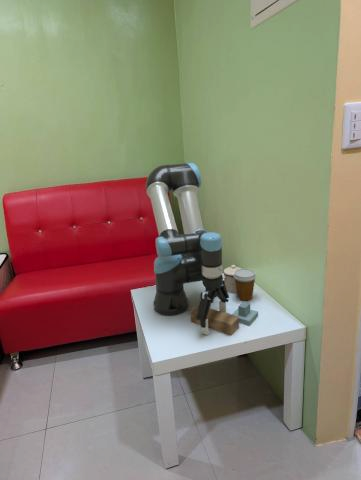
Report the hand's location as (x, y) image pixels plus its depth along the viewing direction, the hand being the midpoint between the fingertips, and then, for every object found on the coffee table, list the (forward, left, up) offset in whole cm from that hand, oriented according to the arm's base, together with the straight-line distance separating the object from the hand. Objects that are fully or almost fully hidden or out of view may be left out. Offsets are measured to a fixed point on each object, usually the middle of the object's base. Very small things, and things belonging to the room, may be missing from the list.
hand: (214, 324), depth 135 cm
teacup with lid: (-8, +29, 0) cm, 30 cm away
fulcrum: (+8, +10, 0) cm, 13 cm away
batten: (0, 0, 0) cm, 1 cm away
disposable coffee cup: (+1, +25, 0) cm, 25 cm away
